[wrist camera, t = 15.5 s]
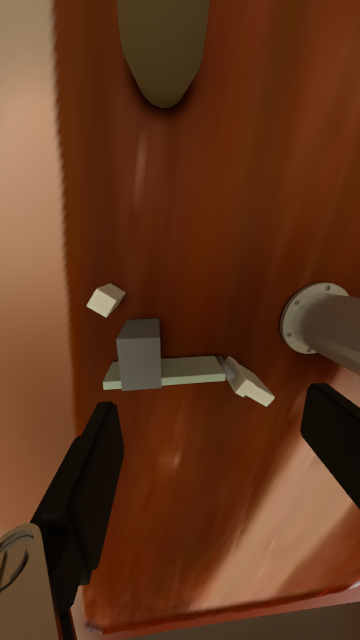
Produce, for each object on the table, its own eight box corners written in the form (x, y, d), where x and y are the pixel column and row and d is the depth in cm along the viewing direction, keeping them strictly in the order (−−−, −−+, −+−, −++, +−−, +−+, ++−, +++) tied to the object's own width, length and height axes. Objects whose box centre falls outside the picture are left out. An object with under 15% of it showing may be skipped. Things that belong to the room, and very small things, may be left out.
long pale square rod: (222, 354, 32) (235, 372, 27) (221, 366, 33) (234, 385, 28) (112, 361, 30) (102, 381, 25) (113, 373, 31) (104, 395, 26)
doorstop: (159, 318, 29) (159, 337, 22) (160, 357, 31) (161, 387, 24) (127, 319, 29) (116, 339, 21) (130, 359, 31) (121, 390, 23)
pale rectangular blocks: (255, 372, 34) (278, 398, 28) (246, 382, 35) (267, 410, 28) (111, 282, 27) (95, 288, 20) (102, 297, 27) (84, 307, 21)
